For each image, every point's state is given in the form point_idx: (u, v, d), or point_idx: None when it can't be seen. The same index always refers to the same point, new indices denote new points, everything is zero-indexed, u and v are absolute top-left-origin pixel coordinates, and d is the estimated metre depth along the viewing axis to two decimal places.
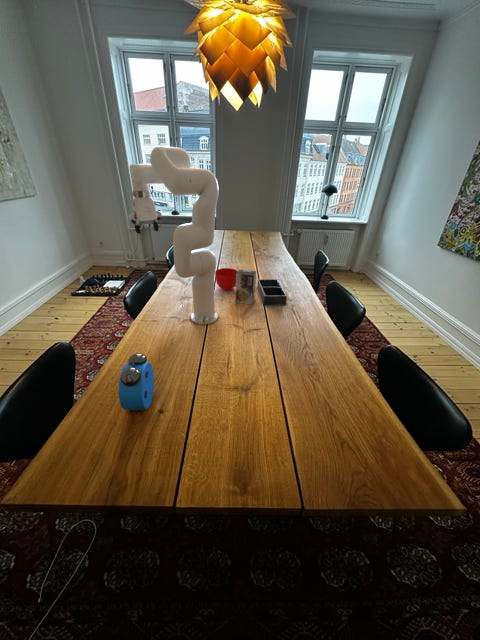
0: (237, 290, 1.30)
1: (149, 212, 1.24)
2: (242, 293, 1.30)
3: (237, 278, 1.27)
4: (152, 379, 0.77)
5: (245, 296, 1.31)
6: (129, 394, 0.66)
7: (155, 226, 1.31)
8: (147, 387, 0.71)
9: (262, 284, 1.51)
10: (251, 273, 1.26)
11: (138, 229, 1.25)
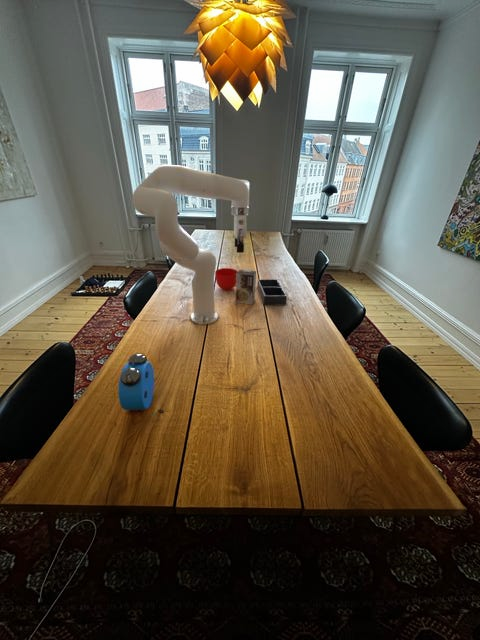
0: (237, 290, 1.30)
1: None
2: (242, 293, 1.30)
3: (237, 278, 1.27)
4: (152, 379, 0.77)
5: (245, 296, 1.31)
6: (129, 394, 0.66)
7: None
8: (147, 387, 0.71)
9: (262, 284, 1.51)
10: (251, 273, 1.26)
11: (243, 248, 1.18)
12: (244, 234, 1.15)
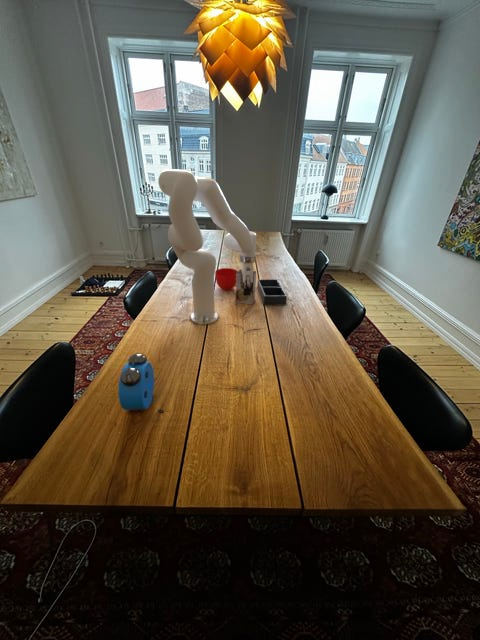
0: (237, 290, 1.30)
1: None
2: (242, 293, 1.31)
3: (237, 278, 1.27)
4: (152, 379, 0.77)
5: (245, 296, 1.31)
6: (129, 394, 0.66)
7: None
8: (147, 387, 0.71)
9: (262, 284, 1.51)
10: None
11: (249, 291, 1.28)
12: (251, 279, 1.24)
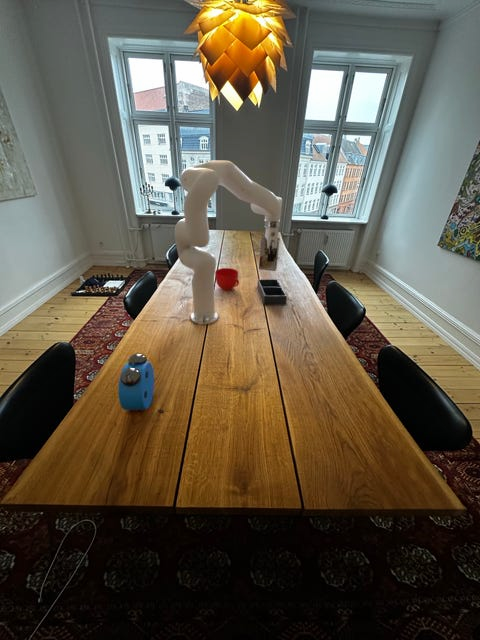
0: (261, 257, 1.33)
1: None
2: (265, 260, 1.33)
3: (261, 244, 1.30)
4: (152, 379, 0.77)
5: (268, 263, 1.34)
6: (129, 394, 0.66)
7: None
8: (147, 387, 0.71)
9: (262, 284, 1.51)
10: None
11: (273, 257, 1.31)
12: (275, 245, 1.27)
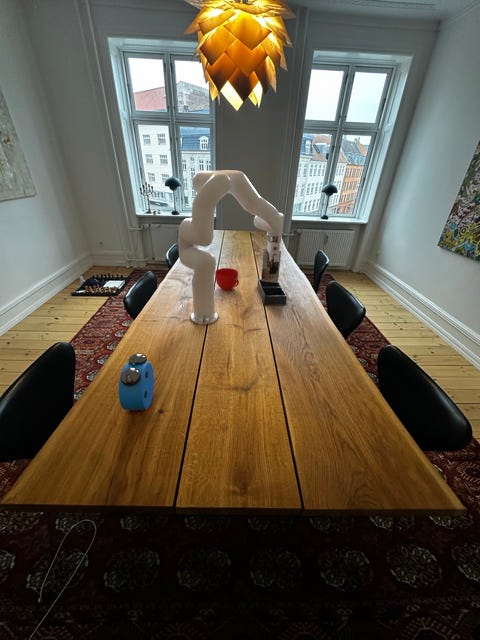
0: (263, 269, 1.39)
1: None
2: (268, 272, 1.39)
3: (264, 257, 1.35)
4: (152, 379, 0.77)
5: (270, 275, 1.39)
6: (129, 394, 0.66)
7: None
8: (147, 387, 0.71)
9: (262, 284, 1.51)
10: None
11: (275, 270, 1.36)
12: (277, 258, 1.33)
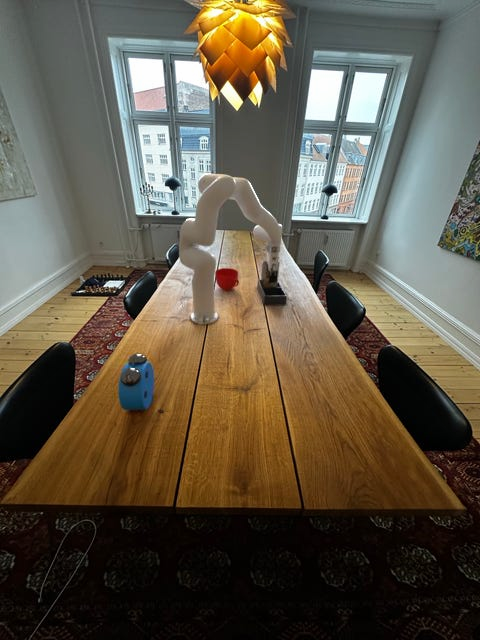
0: (262, 280, 1.42)
1: None
2: (267, 283, 1.42)
3: (263, 268, 1.38)
4: (152, 379, 0.77)
5: (269, 286, 1.42)
6: (129, 394, 0.66)
7: None
8: (147, 387, 0.71)
9: None
10: None
11: (274, 279, 1.38)
12: (276, 268, 1.35)
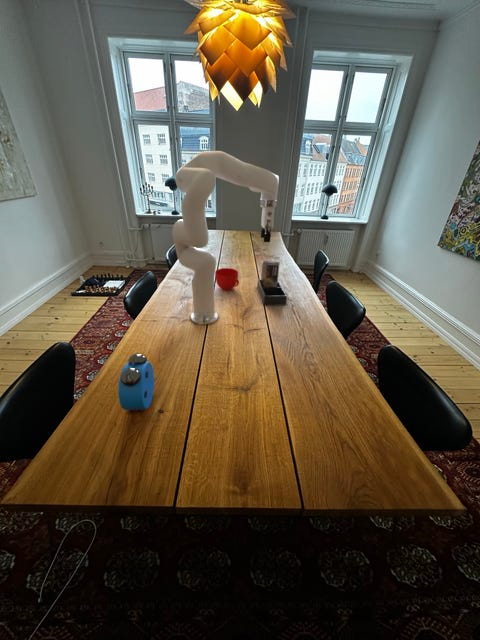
0: (262, 280, 1.42)
1: None
2: (267, 283, 1.42)
3: (263, 268, 1.38)
4: (152, 379, 0.77)
5: (269, 286, 1.42)
6: (129, 394, 0.66)
7: (265, 233, 1.35)
8: (147, 387, 0.71)
9: None
10: (276, 264, 1.37)
11: (269, 238, 1.27)
12: (271, 225, 1.24)
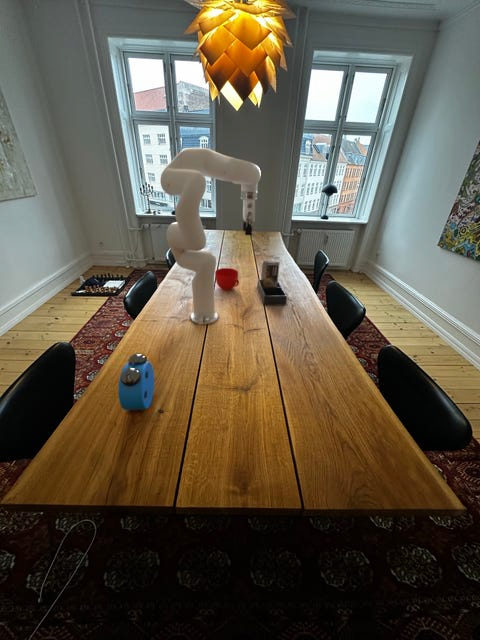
0: (262, 280, 1.42)
1: None
2: (267, 283, 1.42)
3: (263, 268, 1.38)
4: (152, 379, 0.77)
5: (269, 286, 1.42)
6: (129, 394, 0.66)
7: None
8: (147, 387, 0.71)
9: None
10: (276, 264, 1.37)
11: (251, 230, 1.25)
12: (252, 217, 1.22)
